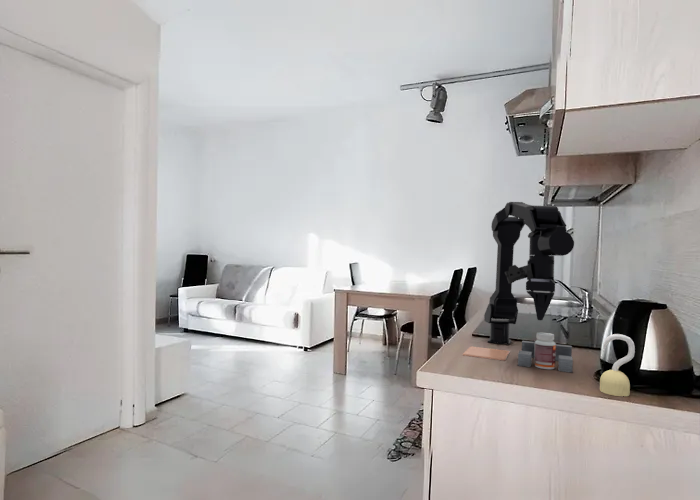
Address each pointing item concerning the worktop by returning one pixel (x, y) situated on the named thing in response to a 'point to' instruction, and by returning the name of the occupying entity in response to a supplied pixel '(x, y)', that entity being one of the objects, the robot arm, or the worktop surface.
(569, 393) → the worktop surface
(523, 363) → the vise
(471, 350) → the tile
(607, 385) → the hook
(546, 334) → the pill bottle
